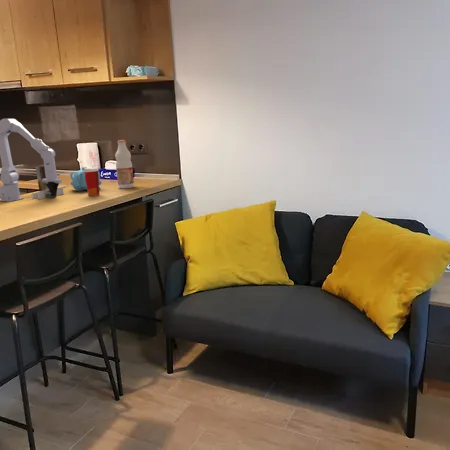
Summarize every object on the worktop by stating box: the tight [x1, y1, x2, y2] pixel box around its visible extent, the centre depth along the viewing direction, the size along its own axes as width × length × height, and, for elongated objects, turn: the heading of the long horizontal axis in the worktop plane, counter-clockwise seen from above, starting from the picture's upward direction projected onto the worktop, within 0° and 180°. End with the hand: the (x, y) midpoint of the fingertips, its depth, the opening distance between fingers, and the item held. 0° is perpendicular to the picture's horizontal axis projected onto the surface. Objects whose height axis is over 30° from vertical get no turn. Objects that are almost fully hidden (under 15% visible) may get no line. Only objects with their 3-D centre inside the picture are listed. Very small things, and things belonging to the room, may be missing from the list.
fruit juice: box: [114, 139, 135, 189], centre depth 276 cm, size 9×9×28 cm
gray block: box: [45, 192, 57, 199], centre depth 258 cm, size 4×4×2 cm
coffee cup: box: [83, 167, 100, 197], centre depth 256 cm, size 8×8×15 cm
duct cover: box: [46, 185, 66, 190], centre depth 265 cm, size 9×5×3 cm, turn 146°
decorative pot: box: [69, 166, 103, 192], centre depth 277 cm, size 16×16×14 cm
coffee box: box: [35, 164, 53, 192], centre depth 274 cm, size 9×6×16 cm
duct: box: [31, 188, 65, 200], centre depth 261 cm, size 16×6×3 cm, turn 146°
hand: (54, 195), depth 256 cm, fingers closed
